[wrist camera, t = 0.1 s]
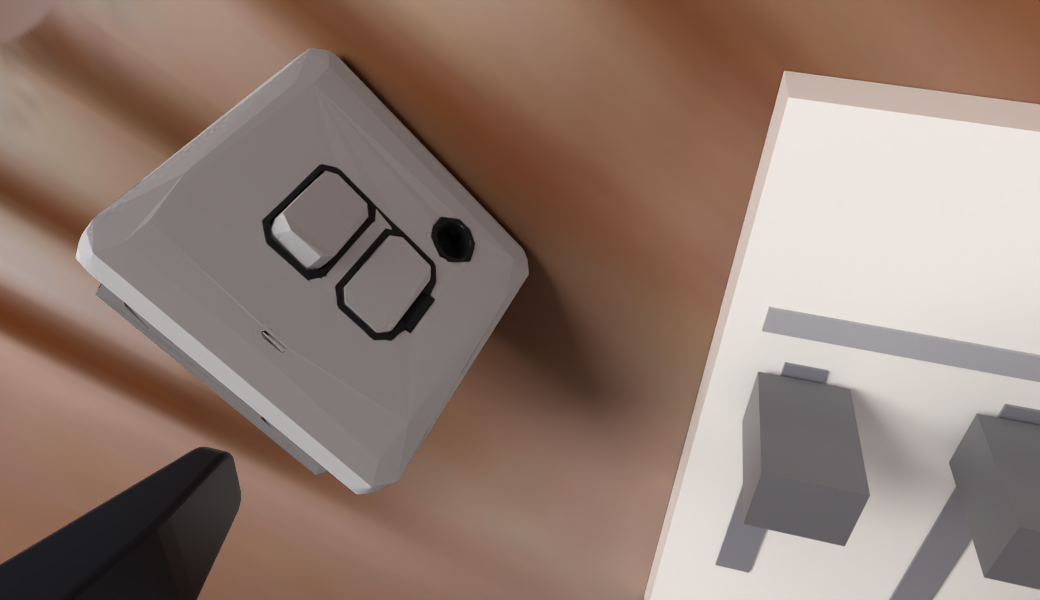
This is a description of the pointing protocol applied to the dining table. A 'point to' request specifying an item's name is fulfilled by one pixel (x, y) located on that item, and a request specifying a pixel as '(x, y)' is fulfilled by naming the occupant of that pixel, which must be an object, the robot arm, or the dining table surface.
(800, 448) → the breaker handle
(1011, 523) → the handle
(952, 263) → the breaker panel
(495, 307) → the electrical switch
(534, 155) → the dining table surface
